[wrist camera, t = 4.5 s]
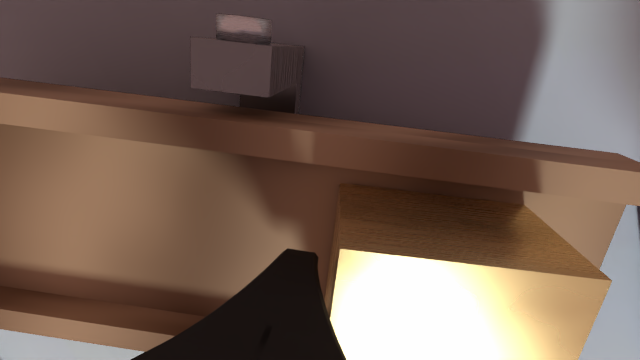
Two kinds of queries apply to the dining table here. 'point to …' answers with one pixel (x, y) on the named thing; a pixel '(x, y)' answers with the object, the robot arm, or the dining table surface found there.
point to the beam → (229, 201)
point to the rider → (455, 280)
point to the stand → (248, 64)
